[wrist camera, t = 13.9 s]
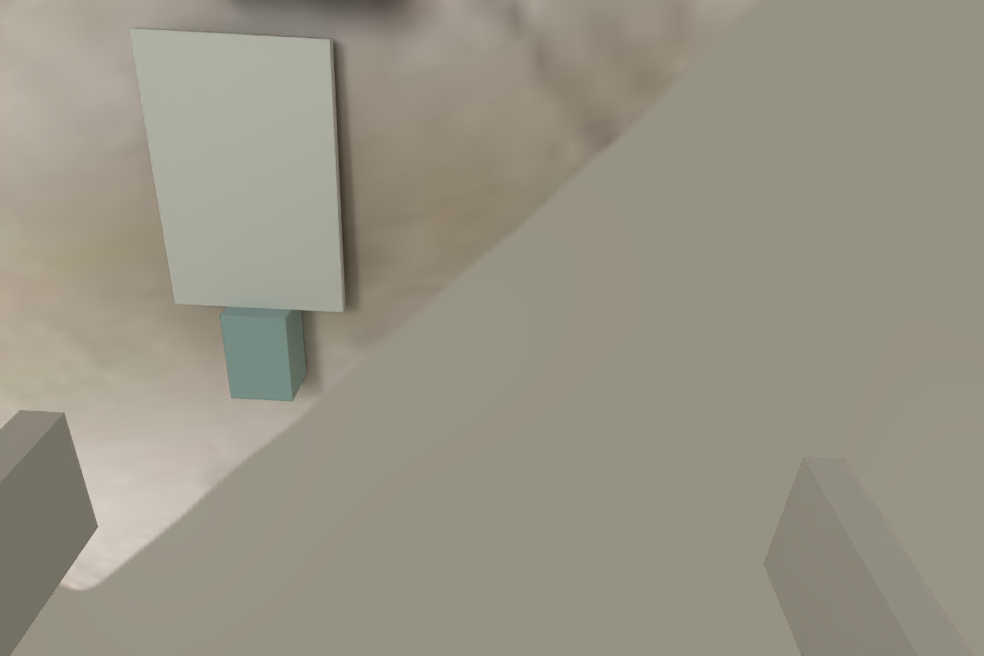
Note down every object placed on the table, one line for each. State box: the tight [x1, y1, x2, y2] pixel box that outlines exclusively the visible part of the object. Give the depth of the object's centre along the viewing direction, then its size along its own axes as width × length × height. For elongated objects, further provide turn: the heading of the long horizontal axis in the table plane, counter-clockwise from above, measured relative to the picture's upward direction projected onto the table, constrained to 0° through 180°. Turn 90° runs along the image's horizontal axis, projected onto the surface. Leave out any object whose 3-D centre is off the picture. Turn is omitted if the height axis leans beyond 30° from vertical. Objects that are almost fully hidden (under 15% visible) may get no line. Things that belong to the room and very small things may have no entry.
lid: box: [129, 28, 346, 401], centre depth 42 cm, size 22×11×4 cm, turn 177°
